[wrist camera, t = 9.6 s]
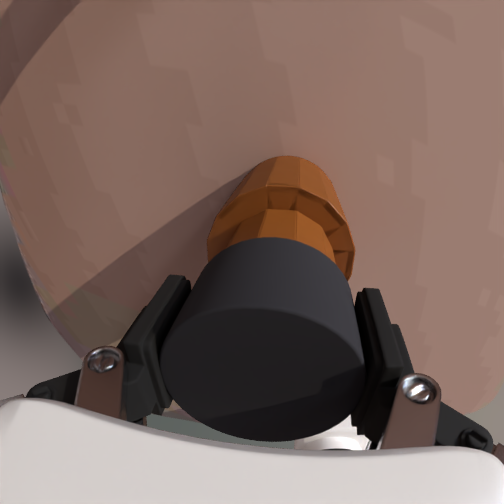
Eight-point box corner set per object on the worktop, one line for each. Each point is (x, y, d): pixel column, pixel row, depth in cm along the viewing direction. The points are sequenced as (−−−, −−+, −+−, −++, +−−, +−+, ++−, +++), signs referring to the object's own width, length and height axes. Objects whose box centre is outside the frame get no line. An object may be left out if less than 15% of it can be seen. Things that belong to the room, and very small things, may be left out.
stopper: (213, 202, 14) (139, 294, 7) (349, 209, 13) (392, 313, 7) (219, 312, 17) (176, 429, 10) (333, 320, 16) (343, 445, 9)
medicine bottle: (296, 413, 34) (289, 502, 23) (298, 374, 31) (291, 477, 20) (356, 412, 33) (361, 501, 22) (366, 373, 30) (379, 474, 19)
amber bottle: (238, 154, 22) (171, 211, 11) (339, 159, 21) (384, 222, 10) (239, 245, 25) (191, 362, 14) (331, 250, 25) (349, 376, 13)
